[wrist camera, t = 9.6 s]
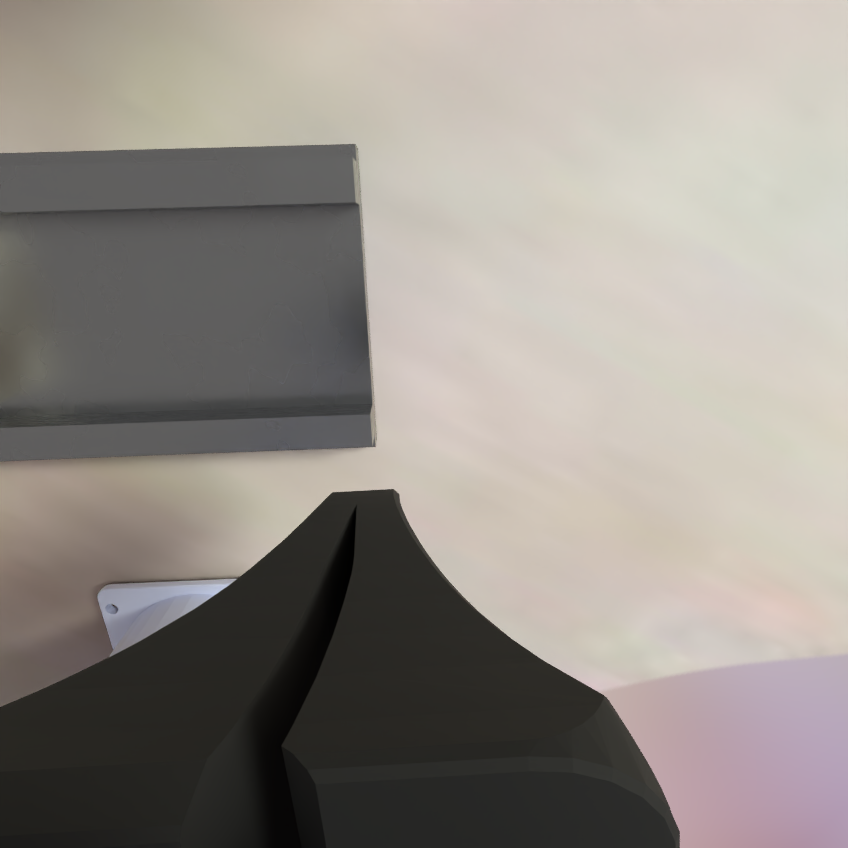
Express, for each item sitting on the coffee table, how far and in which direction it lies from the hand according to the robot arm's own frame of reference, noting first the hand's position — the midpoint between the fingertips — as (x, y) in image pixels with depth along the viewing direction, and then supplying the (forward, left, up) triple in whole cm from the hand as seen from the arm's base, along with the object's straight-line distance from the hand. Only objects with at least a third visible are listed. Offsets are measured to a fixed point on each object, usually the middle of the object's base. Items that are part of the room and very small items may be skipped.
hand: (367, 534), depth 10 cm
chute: (+3, +11, -9) cm, 15 cm away
